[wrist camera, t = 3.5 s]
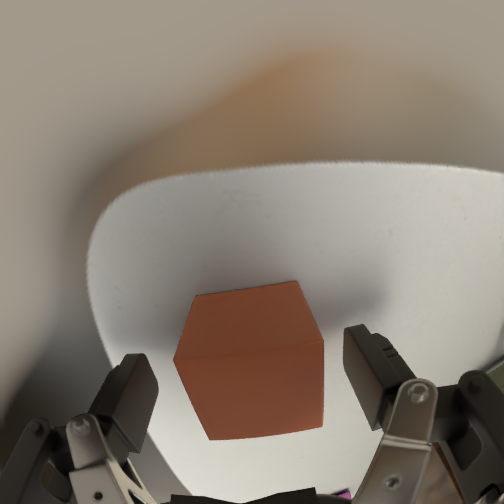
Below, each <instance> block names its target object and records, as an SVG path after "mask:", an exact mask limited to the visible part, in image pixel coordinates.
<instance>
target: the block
mask: <svg viewBox="0 0 504 504" xmlns="http://www.w3.org/2000/svg"><path fill="white" fill-rule="evenodd" d="M173 361H174V363H175V366H176V368H177V371H178V373H179V376H180V378H181V380H182V383H183V385H184V387H185V390H186V392H187V394H188V397H189V399H190V401H191V403H192V405H193V408H194V410H195V412H196V414H197V416H198V418H199V420H200V422H201V424H202V426H203V428H204V430H205V432H206V434H207V436H208V438H209V440H231V439H245V438H255V437H264V436H272V435H279V434H286V433H292V432H298V431H304V430H309V429H314V428H319V427H322V426H323V413H324V340H323V338H322V335H321V333H320V331H319V329H318V326H317V324H316V322H315V319H314V317H313V315H312V313H311V310H310V308H309V306H308V304H307V302H306V299H305V297H304V295H303V293H302V290H301V288H300V286H299V284H298V282H297V281H293V282H286V283H280V284H274V285H268V286H262V287H255V288H248V289H242V290H235V291H228V292H221V293H214V294H207V295H199V296H195V298H194V301H193V304H192V306H191V309H190V312H189V315H188V318H187V321H186V324H185V326H184V329H183V332H182V335H181V338H180V341H179V344H178V347H177V350H176V353H175V356H174V359H173Z"/></svg>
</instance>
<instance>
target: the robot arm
mask: <svg viewBox="0 0 504 504" xmlns="http://www.w3.org/2000/svg"><path fill="white" fill-rule="evenodd" d="M343 365H344V369H345V372H346V374H347V376H348V379H349V381H350V383H351V385H352V387H353V389H354V392H355V394H356V396H357V398H358V400H359V402H360V405H361V407H362V409H363V411H364V413H365V416H366V418H367V420H368V422H369V425H370V427H371V429H372V431H374V430H377V429H380V428H382V430H383V432H384V434H383V436H382V438H381V441H380V443H379V446H378V448H377V451H376V453H375V455H374V457H373V460H372V462H371V464H370V466H369V469H368V471H367V473H366V475H365V477H364V479H363V481H362V483H361V485H360V487H359V489H358V491H357V493H356V494H355V496H354V498H353V500H350V499H348V498H344V497H341V496H335V495H327V494H316V490H315V487H312V488H307V489H302V490H296V491H289V492H282V493H277V494H274V495H271V496H267V497H264V498H261V499H257V500H254V501H250V502H246V503H233V502H228V501H223V500H218V499H213V498H209V497H205V496H185V495H173V494H172V495H171V501H170V502H166V503H161V504H415V502H416V499H417V496H418V494H419V491H420V488H421V485H422V482H423V479H424V476H425V472H426V469H427V465H428V462H429V458H430V454H431V449H432V446H431V445H429V443H435V442H439V444H440V446H441V448H442V450H443V453H444V455H445V457H446V459H447V461H448V463H449V465H450V467H451V469H452V472H453V474H454V476H455V478H456V481H457V483H458V485H459V487H460V490H461V492H462V495H463V497H464V499H465V502H466V504H504V394H503V393H502V391H501V390H500V389H499V388H498V386H497V385H496V384H495V383H494V381H493V380H492V379H491V378H490V377H489V376H488V375H487V374H486V373H484V372H481V371H477V370H473V371H468V372H466V373H464V374H463V375H462V376H461V378H460V380H459V382H458V384H455V385H449V386H443V387H436V386H435V385H434V384H433V383H432V382H430V381H428V380H426V379H420V378H417V377H416V376H415V375H414V373H413V372H412V371H411V369H410V368H409V367H408V365H407V364H406V363H405V361H404V360H403V359H402V357H401V356H400V355H398V352H397V351H396V349H395V348H393V345H392V344H391V343H390V341H389V340H388V339H387V338H385V337H384V336H382V335H380V334H378V333H375V334H371V333H370V332H369V330H368V329H367V328H366V326H365V325H364V324H360V325H355V326H351V327H347V328H345V329H344V341H343ZM104 382H105V383H103V385H102V386H101V390H99V392H98V394H97V396H96V398H95V399H94V401H93V403H92V405H91V407H90V409H89V411H88V413H83V414H80V415H77V416H75V417H73V418H72V419H71V420H70V421H69V423H68V425H67V426H60V427H53V426H52V425H51V424H50V422H49V421H48V420H47V419H45V418H41V417H40V418H35V419H33V420H32V421H30V422H29V423H28V424H27V426H26V427H25V429H24V431H23V433H22V435H21V437H20V438H19V440H18V442H17V444H16V446H15V448H14V450H13V452H12V454H11V456H10V458H9V460H8V462H7V464H6V466H5V468H4V470H3V473H2V475H1V477H0V504H157V503H156V502H155V501H154V499H153V498H152V497H151V496H150V495H149V493H148V492H147V490H146V488H145V487H144V485H143V483H142V481H141V480H140V478H139V476H138V474H137V473H136V471H135V469H134V467H133V465H132V463H131V461H130V460H129V459H128V455H129V452H133V453H140V452H141V449H142V445H143V442H144V438H145V435H146V432H147V428H148V425H149V422H150V419H151V415H152V412H153V409H154V406H155V403H156V399H157V396H158V392H159V387H158V382H157V379H156V377H155V375H154V373H153V370H152V368H151V366H150V364H149V361H148V359H147V357H146V355H145V354H143V353H139V354H126V355H125V356H124V358H123V360H122V362H121V364H120V365H117V366H116V367H115V368H114V369H113V370H112V371H111V372H109V374H108V376H107V377H106V379H105V381H104ZM47 461H48V462H49V463H51V464H52V465H53V466H54V468H53V471H52V473H51V476H50V478H49V481H48V484H47V487H46V489H45V488H44V487H43V486H42V484H41V476H42V473H43V471H44V468H45V466H46V463H47Z"/></svg>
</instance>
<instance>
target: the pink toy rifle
mask: <svg viewBox="0 0 504 504" xmlns="http://www.w3.org/2000/svg"><path fill="white" fill-rule="evenodd" d="M338 496H341V497H344V498H348V499H350V500H351V495H350V492H346V493H343V494H341V495H338Z"/></svg>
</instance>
